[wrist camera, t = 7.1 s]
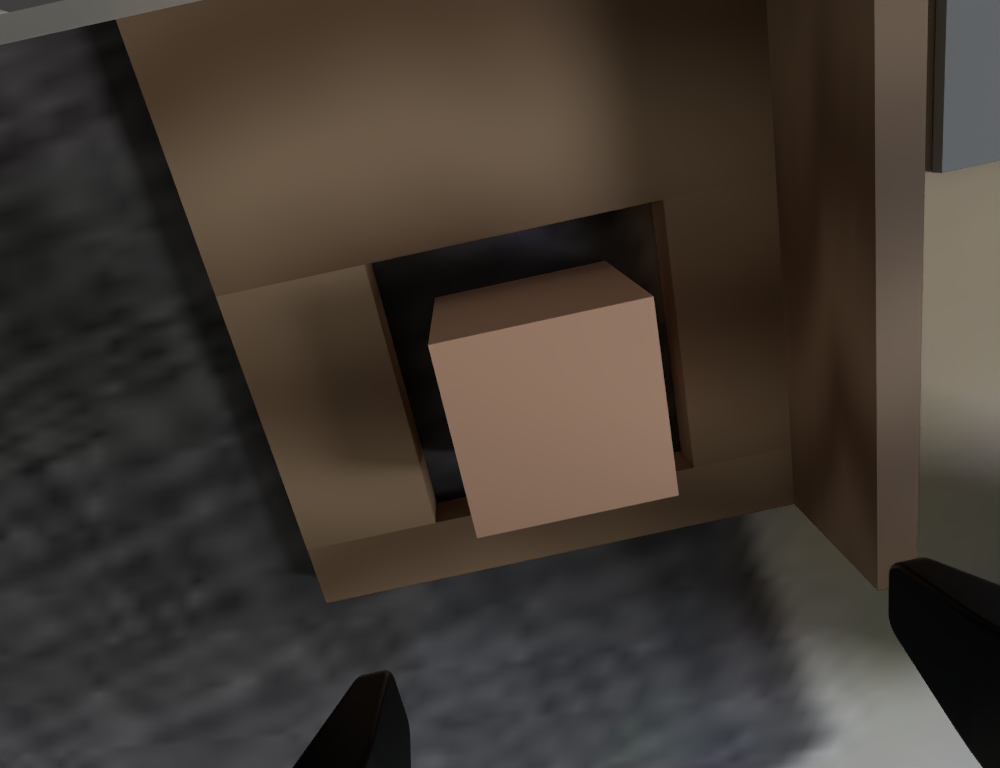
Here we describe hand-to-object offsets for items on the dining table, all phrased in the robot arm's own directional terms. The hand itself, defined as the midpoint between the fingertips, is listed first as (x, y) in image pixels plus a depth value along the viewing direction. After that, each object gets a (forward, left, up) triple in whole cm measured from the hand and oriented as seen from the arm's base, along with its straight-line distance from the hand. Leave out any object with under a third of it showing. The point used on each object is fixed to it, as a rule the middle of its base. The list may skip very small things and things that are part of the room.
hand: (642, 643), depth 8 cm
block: (0, 0, -12) cm, 12 cm away
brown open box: (+4, 0, -12) cm, 13 cm away
